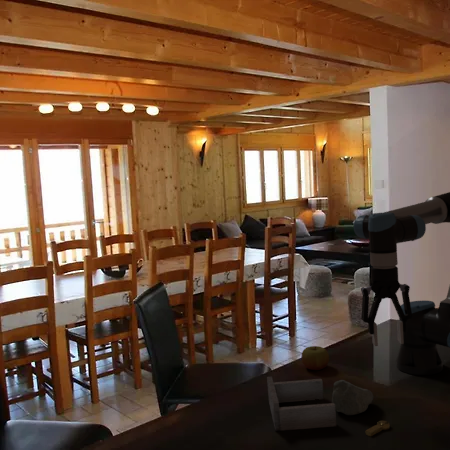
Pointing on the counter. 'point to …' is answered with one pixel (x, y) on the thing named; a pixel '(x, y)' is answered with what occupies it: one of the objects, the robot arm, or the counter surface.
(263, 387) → the counter surface
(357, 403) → the decorative stone
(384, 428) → the wooden spoon
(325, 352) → the apple
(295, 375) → the counter surface
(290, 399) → the gray open-sided box
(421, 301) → the robot arm
